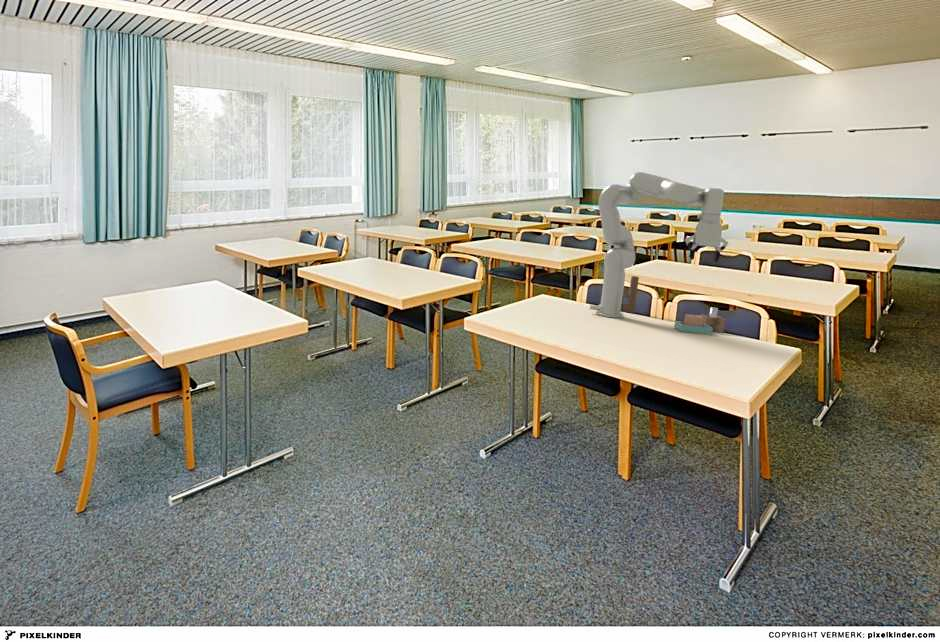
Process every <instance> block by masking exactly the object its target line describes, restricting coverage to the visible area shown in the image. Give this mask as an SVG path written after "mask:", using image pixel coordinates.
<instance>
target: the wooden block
mask: <svg viewBox="0 0 940 642" xmlns="http://www.w3.org/2000/svg"><path fill="white" fill-rule="evenodd" d="M639 279H640V277H639V276H636V275H632V276H631V277H630V285H629V291H628V292H627V290H626V289H625V288H624V290H623V297H622V305H621V312H624V313H630V314H635V313H636V310H637V305H636V302H637V294H638V287H639ZM624 298H627V303H624Z"/></svg>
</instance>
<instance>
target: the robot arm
mask: <svg viewBox="0 0 940 642" xmlns="http://www.w3.org/2000/svg"><path fill="white" fill-rule="evenodd" d="M647 195H650V196H653V197H656V198H660V199H666V200H670V201H673V202H677V203H681V204H684V205H689V206H693V207H701V211H700V212H701V213H700V214H698V215H697V217H696V218H697V219H699V221H698V222H697V224H696V227H695V230H694V234H693V235H691V236H688V237H685V238H684V241H685V244H686V246H687V248H688V249H689V256H688V257H689V259H690V260H692V261H693V260H694V259H695V254H696V250H695V249H696V248H697V247H698V246H699V247H709V248H714V249H715V251H714V255H713V262H716V263H717V262H718V261H719V260H720V255H721V253H722V252H723V250H725V249H726V247H727V246H728V245H729V242H728V241H727V240H726V239H724V238H723V237H722V232H723V229H722V228H723V227H722V225H723V224H722V222H721V223H720V221H721V216H722V215H721V214H722V210H723V209H722V208H723V202H724V197H725V190H723V189H722V188H715V187H714V188H713V187H710V188H709V187H708V188H701V187H697V186H694V185H693V186H692V185H690V184H685V183H681V182H677V181H675V180H671V179H669V178H667V177H662V176H659V175H655V174H651V173H648V172H647V173H646V172H644V171H643V172H642V171H637V172H634V173H633V174H632V175H631V176H630V178H629V183H628V184H627V185H622V184H610V185H607V186H606V187H605V188H604V189H602V191H601V192H600V195H599V198H598V211H599V215H600V221H601V222H600V223H601V228H602V235H603V236H602V237H603V240H604V242H605V243H606V244H607V245H610V246H613V247H612V248H610V249H608V251H607V252H606V253H605V255H604V259H603V260H604V261H603V264H604V273H603V279H602V280H603V282H602V289H601V298H600V303H599V304H598V305H591V304H590V305H589V310H592V311H594V310H595V311H596V312H595V315H597V316H600V317H607V318H615V319H616V318H617V319H618V318H624V316H625V315H624V314H623V313H621V312H622V311H621V305H622V297H623V290H624V289H625V280H626V272H625V271H626V270H625V269H629V268H630V267H632V266H634V264H635V261H636V252H635V244H634V239H633V234H632V232H631V230H630V228H629V227H627V226H625V225H622V222H621V216H620V212H619V209H618V206H617V205H621V206H626V205H630V204H632V203H634V202H635V201H637V200H639V199H641V198H643V197H645V196H647ZM691 240H692V244H691ZM721 244H722V245H721Z"/></svg>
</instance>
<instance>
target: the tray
mask: <svg viewBox="0 0 940 642" xmlns="http://www.w3.org/2000/svg"><path fill="white" fill-rule="evenodd" d="M674 327H675V328H674ZM673 328H674V329H675V330H677V331H678V332H679V333H686V334H687V333H688V334H699V335H707V334H712V335H713V332H712V331H713V328H712V327H710V326H709V325H707V324H703V326H702V327H701V326H691V325H684V321H680V320H679V321H678V320H675V321H674V326H673Z"/></svg>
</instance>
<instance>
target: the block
mask: <svg viewBox="0 0 940 642" xmlns="http://www.w3.org/2000/svg"><path fill="white" fill-rule="evenodd" d="M703 320H704V318H703V317H701V315H695V314H688V313H685V315H684V321H683V322H684V325H691V326H701V327H702V326H703Z"/></svg>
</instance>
